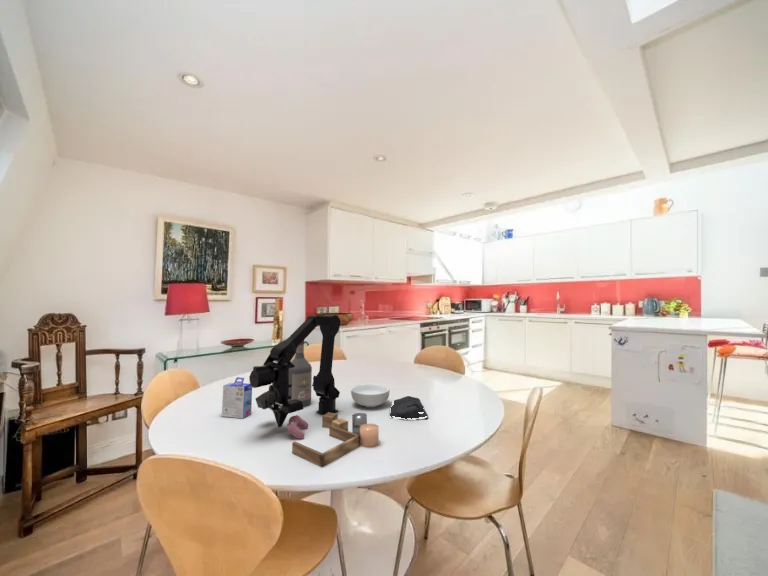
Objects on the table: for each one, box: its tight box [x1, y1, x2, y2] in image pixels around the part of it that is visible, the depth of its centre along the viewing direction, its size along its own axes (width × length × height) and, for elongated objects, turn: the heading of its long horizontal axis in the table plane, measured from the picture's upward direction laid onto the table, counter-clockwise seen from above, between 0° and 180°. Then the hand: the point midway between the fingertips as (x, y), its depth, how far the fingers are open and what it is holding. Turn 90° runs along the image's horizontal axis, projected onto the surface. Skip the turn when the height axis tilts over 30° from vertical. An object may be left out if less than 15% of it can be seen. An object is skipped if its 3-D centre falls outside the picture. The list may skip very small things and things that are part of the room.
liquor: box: [288, 340, 313, 408], centre depth 136 cm, size 9×9×30 cm
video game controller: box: [286, 414, 309, 440], centre depth 105 cm, size 10×5×7 cm, turn 6°
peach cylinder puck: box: [360, 423, 380, 448], centre depth 98 cm, size 6×6×5 cm
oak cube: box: [332, 417, 349, 431], centre depth 106 cm, size 4×4×4 cm
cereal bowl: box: [350, 383, 390, 408], centre depth 135 cm, size 17×17×7 cm
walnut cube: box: [321, 412, 339, 429], centre depth 112 cm, size 4×4×4 cm
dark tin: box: [351, 412, 368, 435], centre depth 106 cm, size 5×5×6 cm
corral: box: [291, 426, 361, 468], centre depth 94 cm, size 16×13×3 cm
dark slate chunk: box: [389, 395, 429, 419], centre depth 128 cm, size 15×22×5 cm
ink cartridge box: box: [221, 376, 253, 419], centre depth 122 cm, size 10×6×14 cm, turn 78°
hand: (279, 426), depth 108 cm, fingers closed
